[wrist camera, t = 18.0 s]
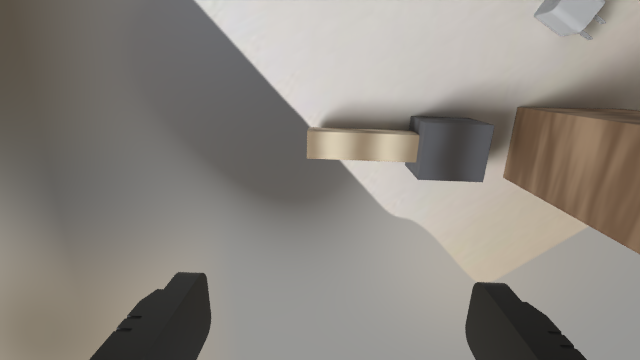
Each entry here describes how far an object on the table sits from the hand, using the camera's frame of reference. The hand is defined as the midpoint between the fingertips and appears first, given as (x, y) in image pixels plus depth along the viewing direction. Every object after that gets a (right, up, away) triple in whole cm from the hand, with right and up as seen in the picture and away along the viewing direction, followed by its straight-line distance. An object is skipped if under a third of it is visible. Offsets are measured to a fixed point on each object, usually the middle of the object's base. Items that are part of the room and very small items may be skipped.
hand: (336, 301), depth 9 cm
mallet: (+9, +9, +35) cm, 37 cm away
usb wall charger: (+30, +24, +29) cm, 48 cm away
